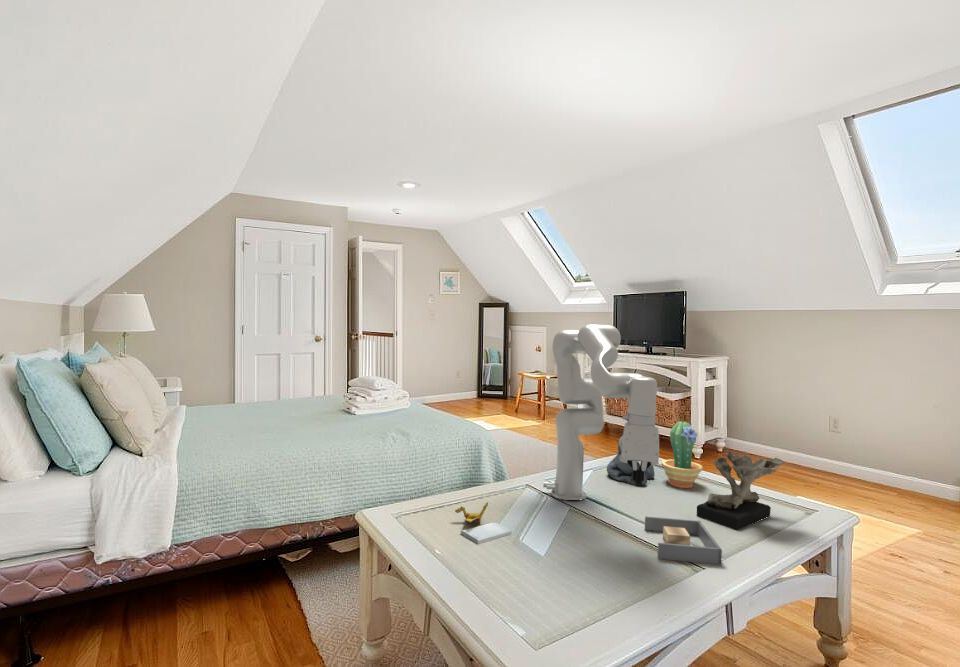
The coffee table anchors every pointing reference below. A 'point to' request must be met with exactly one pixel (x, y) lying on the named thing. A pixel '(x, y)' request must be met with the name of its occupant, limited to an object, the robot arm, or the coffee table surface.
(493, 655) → the coffee table surface
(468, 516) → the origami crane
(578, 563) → the coffee table surface
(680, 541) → the wooden block
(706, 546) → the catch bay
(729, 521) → the coral
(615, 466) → the koala plush
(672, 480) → the potted cactus
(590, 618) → the coffee table surface
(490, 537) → the hard drive
